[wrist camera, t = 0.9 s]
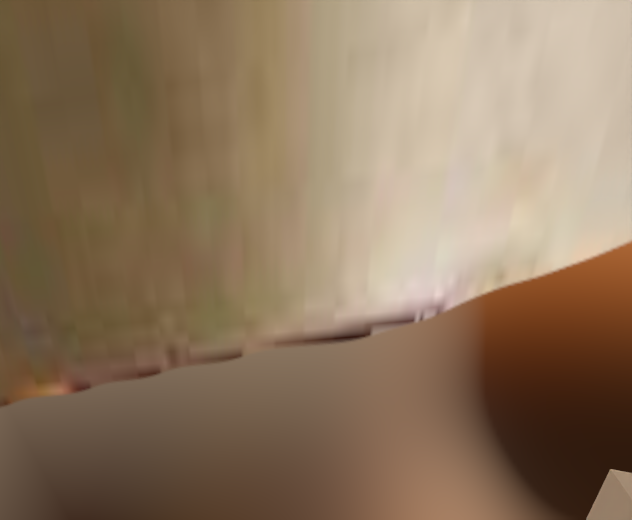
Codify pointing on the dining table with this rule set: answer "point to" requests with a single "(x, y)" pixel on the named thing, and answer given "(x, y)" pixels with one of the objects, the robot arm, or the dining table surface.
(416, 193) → the dining table surface
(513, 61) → the dining table surface
